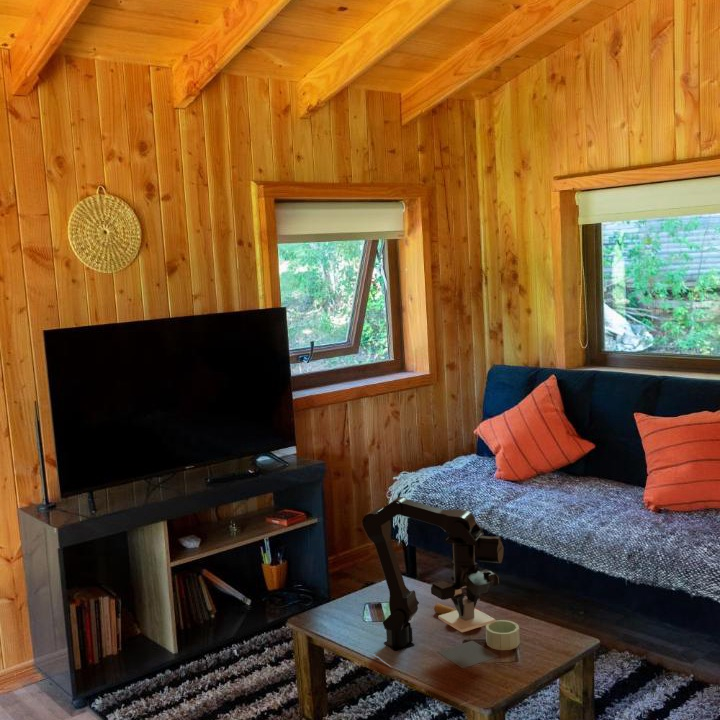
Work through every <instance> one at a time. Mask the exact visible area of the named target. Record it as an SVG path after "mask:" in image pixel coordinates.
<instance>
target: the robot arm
mask: <svg viewBox="0 0 720 720" xmlns="http://www.w3.org/2000/svg"><path fill="white" fill-rule="evenodd" d="M396 516H402V517H406V518H408V519H413V520H416V521H419V522H423V523H426V524H430V525H433V526H437V527H439V528H440V529H442V530H443V531H444V532H445V533H447V534H449V536H448V537H447V538H446V539H445V540H444V543H445V544H452V555H453V556H452V557H453V560H452V561H450V566H452V567H453V575H452V576H450V577H451V580H452V582H453V583H448V582H446V581H444V580H442V581H439V582H434V583H432V585H431V587H430V594H431V595H433V596H434V597H436V598H438V599H440V600H441V601H445V600H449V599H450V600H451V602H452V603H453V605H454V607H455V609H456V610H457V611H458V613H459V615H460V616H461V617H462V616H463V600H464V598H465V596H466V599H469V600H471V601H473V602H474V609H475V607H476V605H477V603H478V600H479V597H480V595H481V594H484V593H485V594H487V593H488V591H489V587H491V588H492V587H494V586H498V585H499V583H500V581H499V579H500V578H499V576H498V575H497V573H495V572H493V571H492V570H489V569H487V568H486V569H483V570H480V569H479V564H478V563H477V562H476V560H478V561H479V562H485V563H493V564H495V563H496V564H502V562H503V558H504V549H505V548H504V545H503V542H502V541H501V536H498V535H497V536H496V535H494V536H489V535H485V534H484V533H485V532H484V531H483V530H482V529H481V526H480V525H479V524H478V523H477V521H476V517H475V516H474V514H473V512H471V511H468V510H463V509H442V508H439V507H435V506H432V505H431V506H430V505H428V504H424V503H421V502H417V501H413V500H410V499H406V497H403V496H401V497H400V496H399V497H397V498H395V499H394V500H392V501H391V502H390V503H388V504H386V505H385V506H383V507H379V506H378V507H375V508H373V509H372V510H371V511H369V512H368V513H365V515H364V516H363V517H362V518H363V519H361V526H362V528H363V531H364V532H365V535H366V536H367V538H368V539H369V540H370V541H371V542H372V544H373V545H374V547H375V550H376V554H377V556H378V560H379V562H380V566H381V569H382V572H383V576H384V578H385V582H386V586H387V588H388V591H389V599H388V600H389V602H388V607H389V615H388V616H387V618H385V619H384V620H383V622H382V626H383V627H384V630H385V631H386V641H384V642H383V644H384V645H386V646H387V647H388V648H389V649H391V651H394V652H399V651H403V650H405V649H409V648H412V647H415V643H414V642H413V627H411V626H412V625H411V623H410V621H411V620H412V618H413V617H414V616H415V615H416V613H417V612H418V609H419V607H418V605H419V604H420V602H419V601H418V598H417V595H416V591H415V590H414V589H413V590H411V591H410V589H408V587H407V586H406V584H405V580H404V577H403V574H402V571H401V568H400V564H399V561H398V558H397V555H396V552H395V549H394V545H393V543H392V542H393V541H392V539H391V535H392V534H391V533H392V524H391V523H392V522H391V520H392V519H394V518H396ZM463 589H465V590H466V594H464V593H462V592H463V591H462V590H463Z"/></svg>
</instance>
